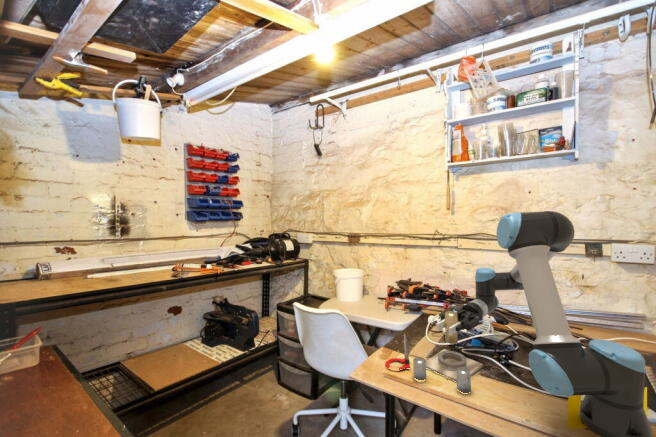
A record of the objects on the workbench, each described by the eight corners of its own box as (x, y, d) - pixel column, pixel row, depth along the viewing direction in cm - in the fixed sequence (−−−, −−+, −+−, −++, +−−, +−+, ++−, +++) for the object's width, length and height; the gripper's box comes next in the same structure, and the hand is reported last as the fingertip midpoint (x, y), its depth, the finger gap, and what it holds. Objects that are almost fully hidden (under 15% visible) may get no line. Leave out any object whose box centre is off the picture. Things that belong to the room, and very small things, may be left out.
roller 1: (428, 378, 116) (428, 360, 116) (421, 384, 113) (421, 365, 113) (418, 373, 120) (417, 356, 119) (411, 378, 117) (410, 360, 116)
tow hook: (387, 373, 122) (411, 371, 121) (384, 341, 121) (409, 339, 120) (384, 361, 130) (407, 359, 130) (381, 331, 129) (404, 329, 128)
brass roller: (460, 341, 122) (459, 313, 121) (453, 345, 119) (453, 316, 118) (449, 337, 125) (448, 310, 124) (443, 341, 122) (442, 313, 121)
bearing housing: (482, 366, 122) (482, 357, 121) (461, 385, 112) (461, 375, 111) (444, 351, 134) (444, 343, 134) (421, 366, 124) (421, 357, 124)
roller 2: (473, 390, 108) (473, 371, 108) (466, 396, 106) (465, 376, 105) (462, 384, 112) (461, 365, 111) (454, 389, 109) (453, 370, 109)
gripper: (496, 326, 126) (466, 347, 112) (454, 313, 140) (423, 331, 125) (496, 307, 125) (466, 327, 111) (454, 297, 139) (422, 313, 124)
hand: (443, 329), depth 118 cm, fingers closed on brass roller, 4 cm apart
